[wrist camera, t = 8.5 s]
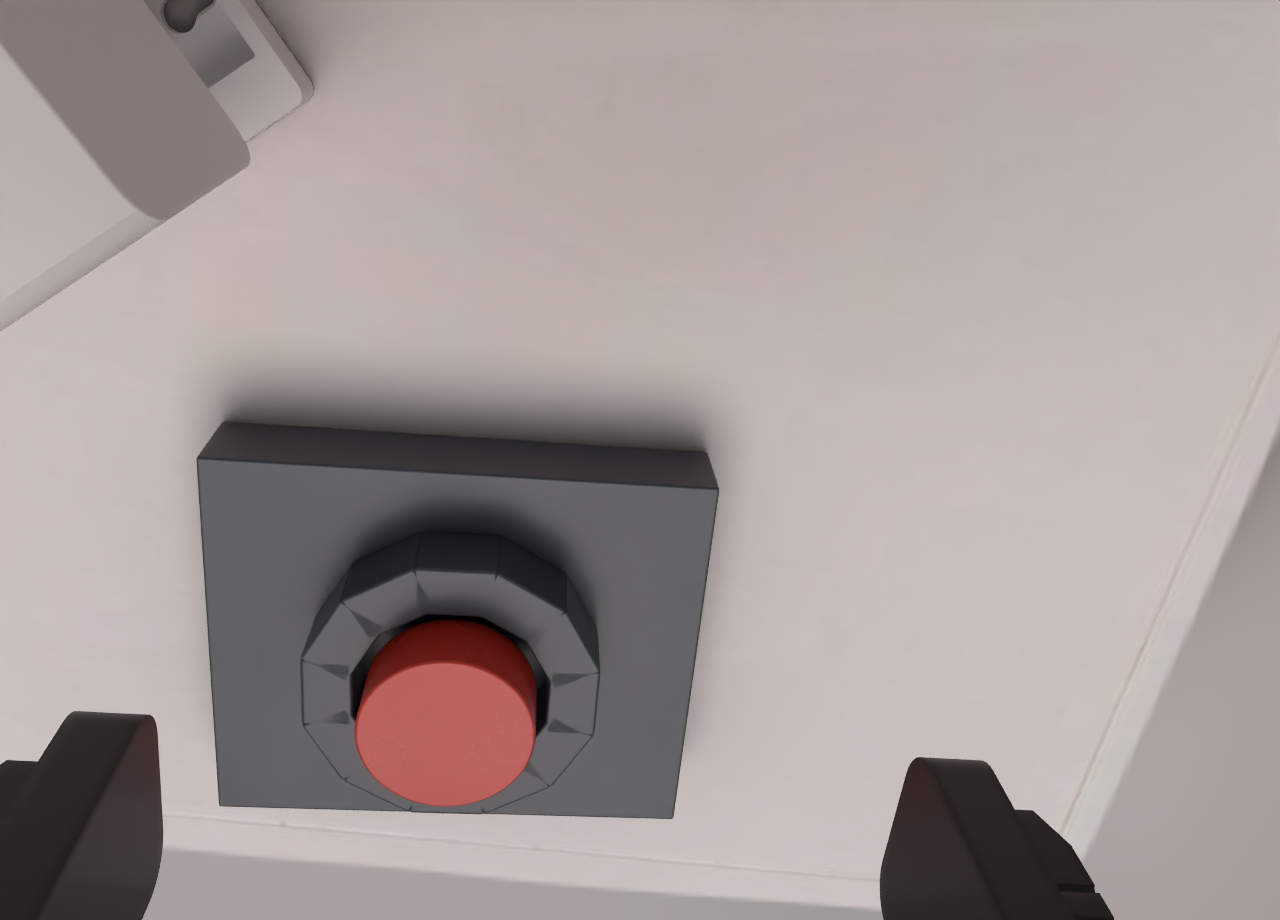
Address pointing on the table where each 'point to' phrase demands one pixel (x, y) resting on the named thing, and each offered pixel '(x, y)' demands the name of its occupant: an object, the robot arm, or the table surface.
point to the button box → (451, 604)
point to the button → (447, 713)
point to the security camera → (121, 126)
